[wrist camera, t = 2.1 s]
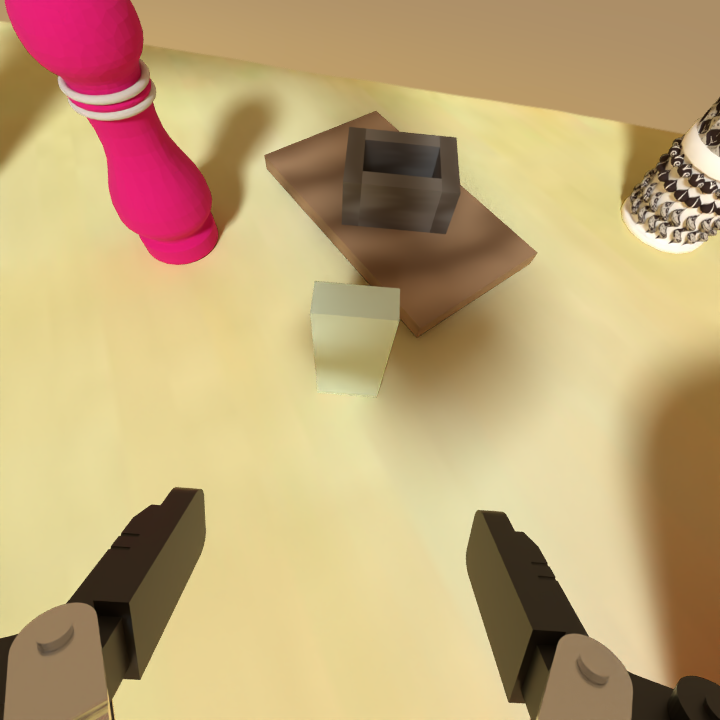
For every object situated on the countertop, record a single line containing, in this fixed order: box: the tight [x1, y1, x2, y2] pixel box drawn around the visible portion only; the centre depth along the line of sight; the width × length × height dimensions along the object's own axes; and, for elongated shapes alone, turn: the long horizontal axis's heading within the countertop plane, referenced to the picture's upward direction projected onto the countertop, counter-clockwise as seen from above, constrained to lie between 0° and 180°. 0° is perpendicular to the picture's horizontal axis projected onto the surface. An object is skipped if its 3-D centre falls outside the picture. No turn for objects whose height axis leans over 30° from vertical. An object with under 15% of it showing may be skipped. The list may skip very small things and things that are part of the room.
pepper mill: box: [5, 0, 218, 265], centre depth 26 cm, size 7×7×20 cm
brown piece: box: [264, 111, 537, 337], centre depth 35 cm, size 14×24×6 cm, turn 37°
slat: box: [310, 281, 400, 397], centre depth 25 cm, size 4×2×11 cm, turn 86°
